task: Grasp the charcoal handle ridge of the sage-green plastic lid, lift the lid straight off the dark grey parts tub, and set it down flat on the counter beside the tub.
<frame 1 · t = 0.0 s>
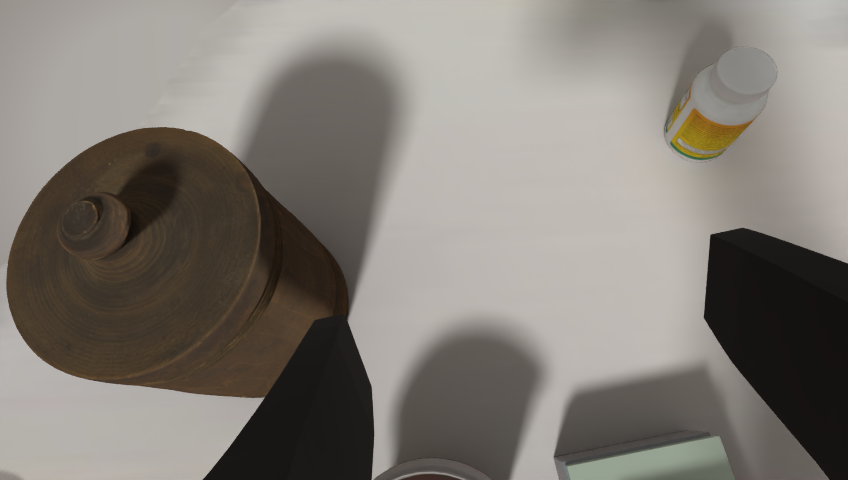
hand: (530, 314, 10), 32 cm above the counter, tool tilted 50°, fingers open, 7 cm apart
supplement bottle: (693, 138, 46), on the counter
wooden container: (266, 309, 45), on the counter
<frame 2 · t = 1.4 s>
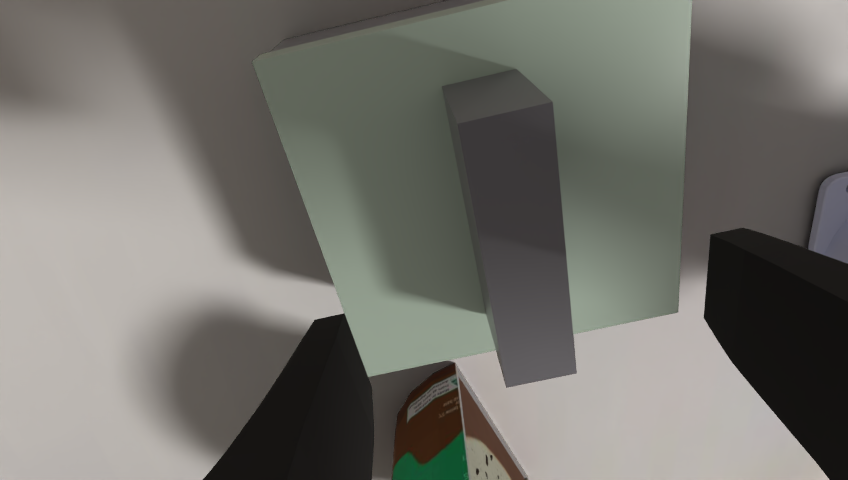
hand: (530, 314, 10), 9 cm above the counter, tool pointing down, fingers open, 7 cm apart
lid: (487, 181, 15), point 3 cm above the counter, touching tub
tub: (466, 152, 18), on the counter
food container: (438, 442, 26), on the counter
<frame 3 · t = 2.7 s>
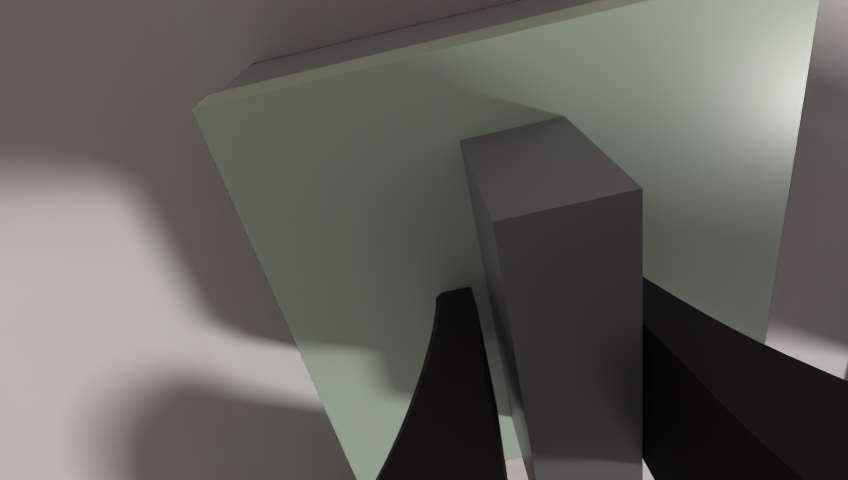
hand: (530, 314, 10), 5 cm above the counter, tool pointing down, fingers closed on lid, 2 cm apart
lid: (513, 247, 12), point 3 cm above the counter, touching gripper, tub
tub: (482, 199, 15), on the counter
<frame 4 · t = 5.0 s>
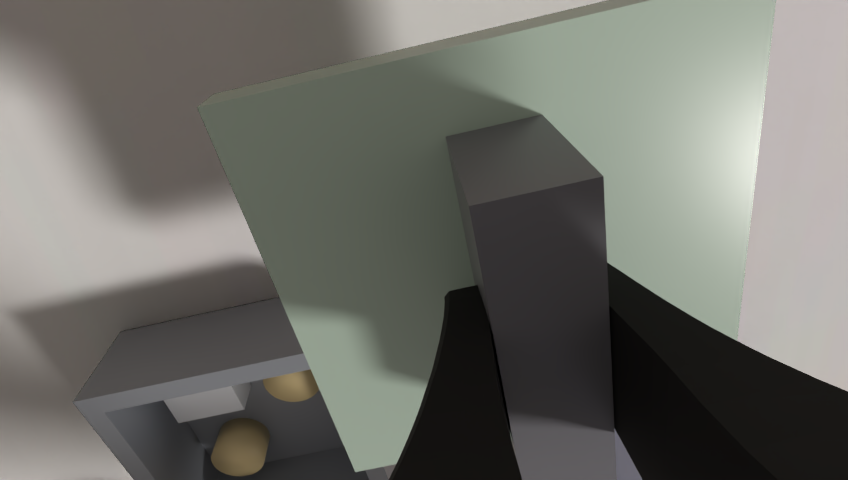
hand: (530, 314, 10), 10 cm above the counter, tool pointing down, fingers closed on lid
lid: (500, 240, 13), point 8 cm above the counter, touching gripper
tub: (272, 389, 25), on the counter
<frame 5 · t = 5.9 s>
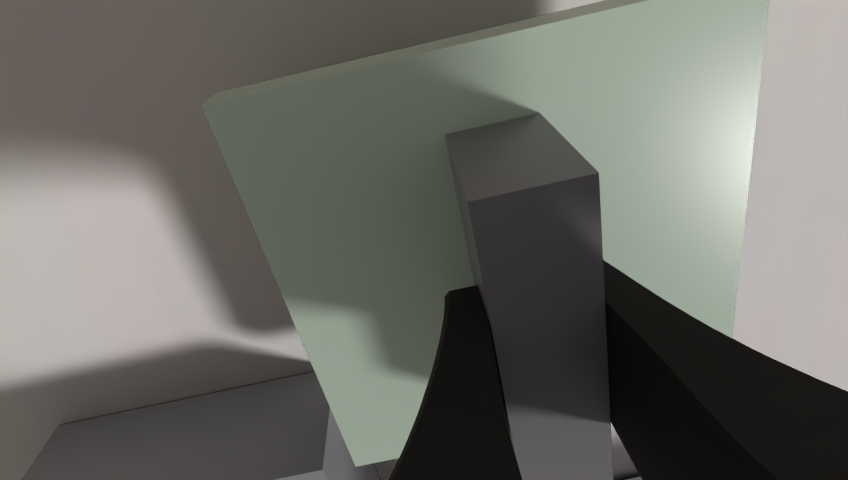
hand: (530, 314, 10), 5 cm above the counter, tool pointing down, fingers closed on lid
lid: (499, 237, 13), point 2 cm above the counter, touching gripper
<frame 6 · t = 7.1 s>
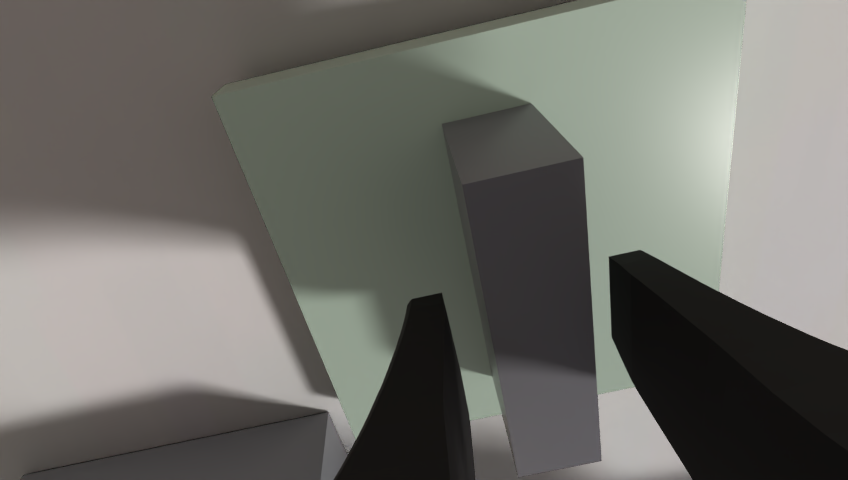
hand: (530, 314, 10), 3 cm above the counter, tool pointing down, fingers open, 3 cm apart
lid: (494, 223, 13), on the counter
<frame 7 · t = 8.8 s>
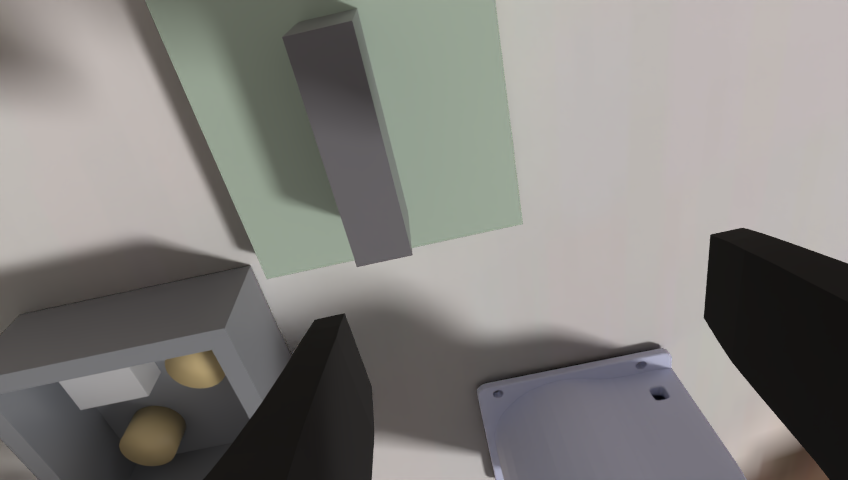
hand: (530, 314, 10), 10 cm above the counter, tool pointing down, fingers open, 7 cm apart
lid: (360, 111, 19), on the counter
tub: (185, 376, 24), on the counter
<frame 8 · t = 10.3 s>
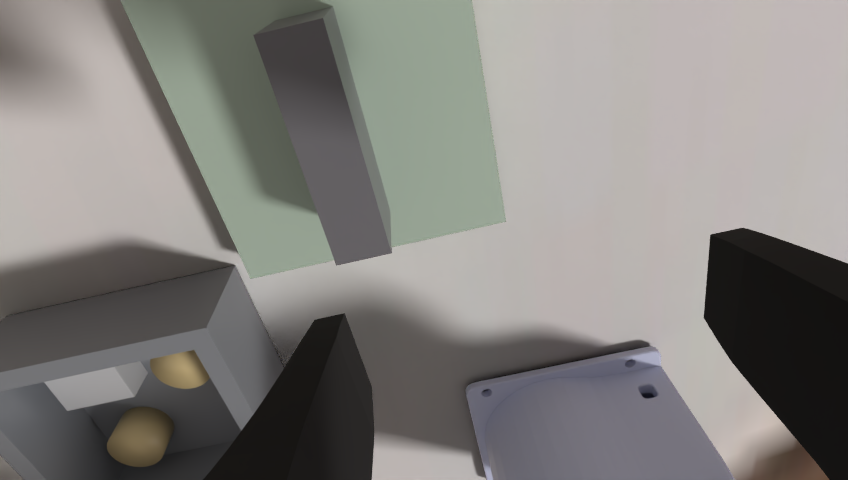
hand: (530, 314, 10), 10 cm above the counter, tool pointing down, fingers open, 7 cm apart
lid: (341, 110, 19), on the counter
tub: (173, 376, 24), on the counter
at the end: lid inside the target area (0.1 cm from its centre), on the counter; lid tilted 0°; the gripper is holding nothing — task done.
